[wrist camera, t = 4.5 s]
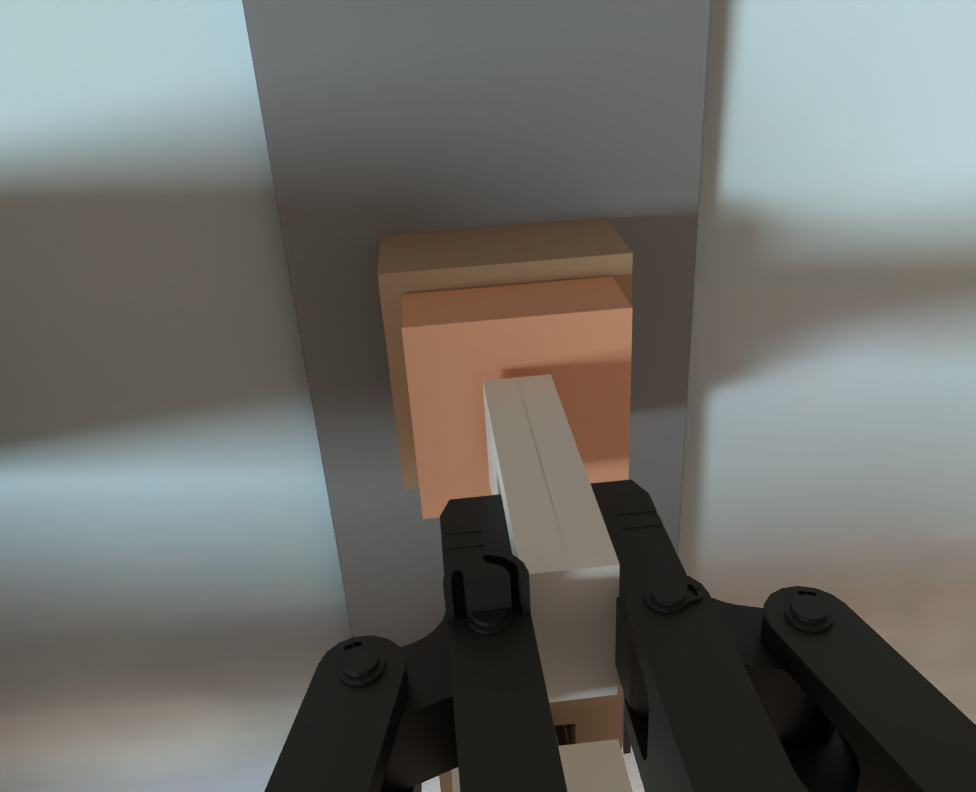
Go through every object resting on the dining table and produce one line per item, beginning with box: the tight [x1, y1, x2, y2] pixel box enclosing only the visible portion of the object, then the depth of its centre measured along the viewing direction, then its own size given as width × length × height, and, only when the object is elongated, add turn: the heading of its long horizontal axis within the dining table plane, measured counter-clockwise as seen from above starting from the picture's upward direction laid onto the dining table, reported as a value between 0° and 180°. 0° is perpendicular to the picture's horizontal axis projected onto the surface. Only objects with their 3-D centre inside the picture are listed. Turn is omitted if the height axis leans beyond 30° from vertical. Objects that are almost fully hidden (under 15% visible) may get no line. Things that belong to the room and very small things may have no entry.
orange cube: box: [401, 276, 633, 519], centre depth 22 cm, size 5×5×5 cm
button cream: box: [451, 726, 632, 792], centre depth 27 cm, size 5×5×5 cm
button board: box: [242, 0, 710, 792], centre depth 23 cm, size 11×35×4 cm, turn 3°
